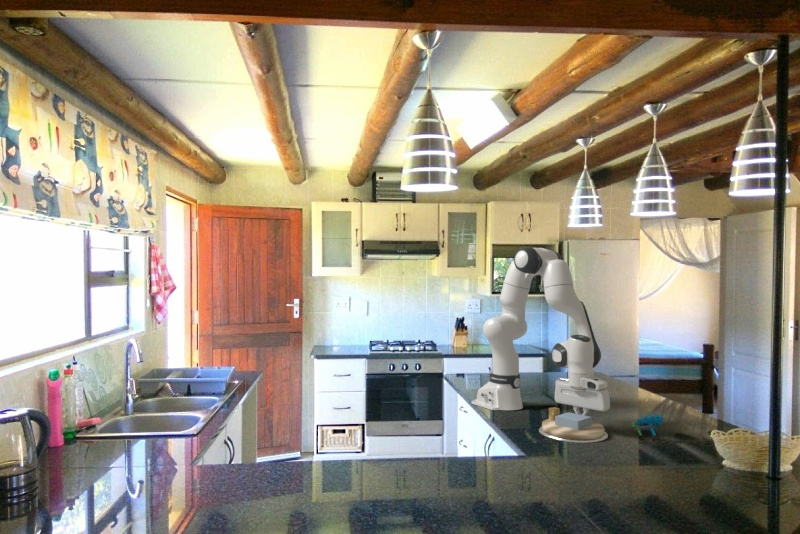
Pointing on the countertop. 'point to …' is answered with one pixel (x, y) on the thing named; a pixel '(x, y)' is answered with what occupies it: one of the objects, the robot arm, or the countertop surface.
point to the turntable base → (573, 439)
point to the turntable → (568, 433)
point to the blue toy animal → (648, 423)
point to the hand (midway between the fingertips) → (581, 419)
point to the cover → (573, 421)
